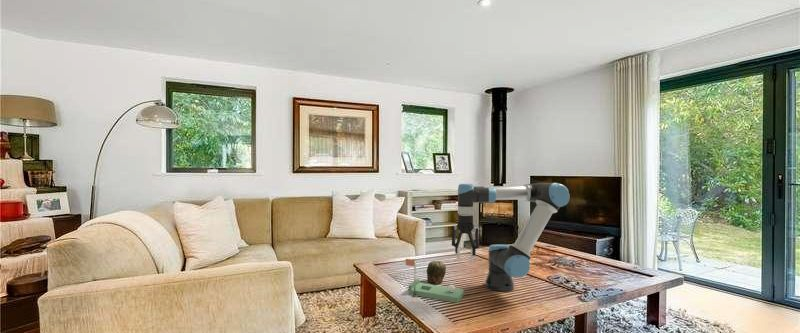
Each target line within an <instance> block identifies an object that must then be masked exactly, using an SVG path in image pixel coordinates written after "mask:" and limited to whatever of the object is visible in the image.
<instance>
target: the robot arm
mask: <svg viewBox="0 0 800 333" xmlns="http://www.w3.org/2000/svg"><path fill="white" fill-rule="evenodd" d="M509 200H511V201H512V200H517V201H518V200H522V201H524V202H533V203H535V204H536V206H535V207H534V209H533V211H532V212H531V214H530V216H529V217H528V220H527V221H526V223H525V225H524V226H523V228H522V230H521V231H520V233H519V235H518V236H517V239H516V240H515V242H514V243H512V244H502V243H501V244H500V243H499V244H491V245H489V246H488V273H487V276H486V277H485V284H484V285H485V287H486V288H487V289H489V290H493V291H495V292H496V291H497V292H511V291H513V290H514V289H515V284H514V280H513V278H517V279H519V278H523V277H525V276H526V275H527V274H529V271H530V268H531V263H530V260H531V258H532V256H531V252H532V250H533V249H534V246H535V244H536V243H537V241H538V239H539V238H540V236H541V235H542V233H543V231H544V229H545V227H546V226H547V224H548V222H549V221H550V219H551V217H552V215H553V214H556V213H558V211H559V209H560V208H561V207H565V206H566V205H568V203H569V201H570V193H569V189H568V187H567V186H565V185H564V184H561V183H558V182H537V183H528V184H527V183H524V184H523V185H502V186H501V185H495V186H494V185H491V186H487V185H486V186H474V184H472V183H459V184H458V187H457V214H458V215H457V224H456V225H452V226H451V230H452V236H451V246H452V247H454V248H455V251H454V253H455V254H456V258H457V259H456V261H457V262H459V261H461V247H460V243H461V240H462V236H463V235H464V234H466V235H467V237H468V239H469V243H470V245H471V248H470V263H471V264H472V263H473V262H474V257H475V256H476V250H478V249H479V247H480V235H479V232H480V227H476V226H474V204H477V203H480V204H481V203H483V204H484V203H487V204H490V203H494V202H495V203H496V201H509ZM457 230H458V231H459V233H458V235H457ZM473 230H474V231H473ZM473 232H474V237H475V241H474V237H473V234H472V233H473ZM456 236H457V237H456ZM456 238H457V239H456ZM512 277H513V278H512Z"/></svg>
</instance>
